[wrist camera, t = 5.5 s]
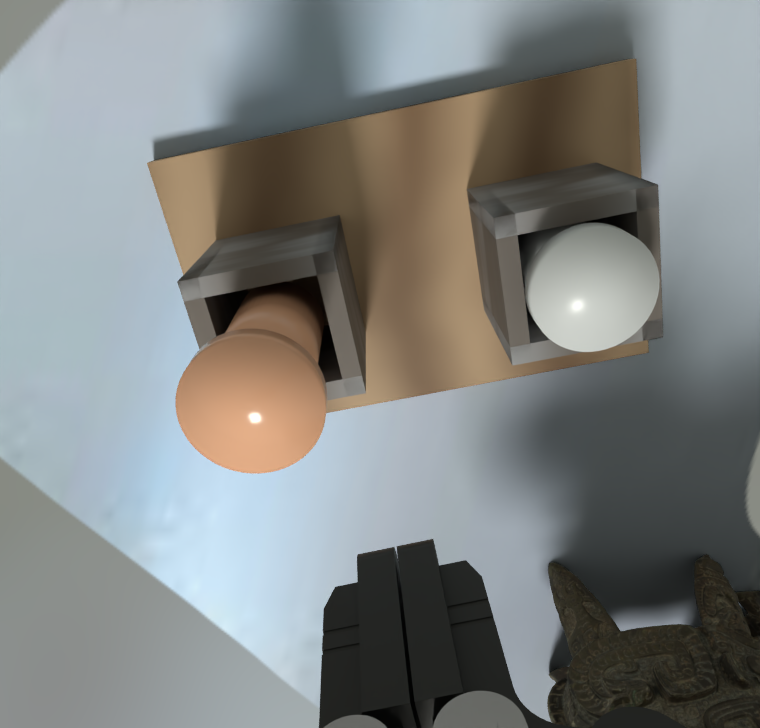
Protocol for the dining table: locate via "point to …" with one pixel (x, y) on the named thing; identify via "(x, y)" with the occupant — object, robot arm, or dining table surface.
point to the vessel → (660, 658)
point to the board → (416, 228)
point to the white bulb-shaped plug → (588, 284)
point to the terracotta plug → (258, 384)
